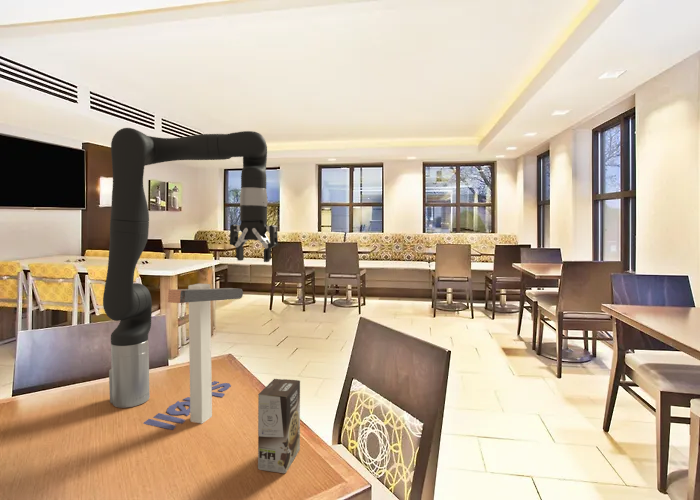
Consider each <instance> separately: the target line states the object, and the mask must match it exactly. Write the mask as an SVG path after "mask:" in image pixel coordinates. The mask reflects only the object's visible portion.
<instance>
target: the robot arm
mask: <svg viewBox="0 0 700 500" xmlns="http://www.w3.org/2000/svg"><path fill="white" fill-rule="evenodd" d="M110 151H111V153H110V154H111V166H112V188H111V189H112V192H111V209H110V218H109V219H110V222H109V249H108V263H107V271H106V278H105V282H104V283H105V284H104V288H103V289H104V290H103V297H102V306H103V307H102V308H103V310H104V313H105V314H106V316H107V317H108V318H109V319H111V320H112V321H114V322H115V321H116V322H118V321H119V323H118V325H117V327H116V328H114V330H113V331H112V332H111V334H110V350H111V351H110V354H111V368H110V369H108V370H109V371H108V379H109V380H108V382H109V384H108V385H109V403H110V404H112V406H114V407H115V408H122V409H123V408H133V407H136V406H139V405H142V404H144V403H146V402H147V401H149V400H150V397H151V396H150V354H149V353H150V352H149V350H150V349H149V333H150V331H151V327H152V310H153V309H152V308H153V306H152V305H153V304H152V303H153V301H152V295H151V293H150V292H151V291H150V290H149V289H148V287H146V286H145V285H144V284H142V283H139V282H138V283H137V282H135V281H134V280H135V278H134V277H135V271H136V267H137V264H138V262H139V260H140V257H141V256H142V254H143V252H144V250H145V248H146V246H147V245H146V244H147V243H148V239H149V228H150V214H149V213H150V211H149V205H148V202H147V199H146V197H147V196H146V195H145V191H144V190H145V189H144V173H145V166H149V165H155V164H160V163H164V162H175V161H210V160H211V161H221V160H223V161H224V160H225V161H226V160H230V159H232V158H242V163H243V164H242V170H241V172H240V173H241V174H240V179H241V180H240V195H239V220H240V224H239V225H238V224H231V225H230V233H229V245H230V246H233V247H235V258H236V259H237V261H244V257H245V256H244V253H245V252H244V249H245V248H244V245H245V244H246V243H247V242H248V241H258V242H259V243H261V245H262V246H263V247H264V249H263V262H264V263H269V262H270V261H271V259H272V249H273V248H274V247H278V246H279V240H278V237H279V236H278V226H277V225H275V224H274V225H268V223H267V221H268V193H267V172H266V171H267V159H268V146H267V141H266V139H265V137H264V136H263V135H262V134H261V133H260V132H256V131H249V130H246V131H237V132H231V133H204V134H203V133H202V134H201V133H200V134H195V135H194V134H192V135H187V136H183V137H181V136H180V137H175V138H174V137H170V138H169V137H156V136H150V135H147V134H145V133H143V132H142V131H139V130H138V129H135V128H131V127H123V128H121V129H118V130H117V132H115V133H114V135H113V137H112V139H111V143H110ZM239 232H241V233H240V235H239ZM267 232H268V233H269V237H268V236H267Z"/></svg>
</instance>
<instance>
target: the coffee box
mask: <svg viewBox="0 0 700 500" xmlns="http://www.w3.org/2000/svg"><path fill="white" fill-rule="evenodd" d="M257 397H258V400H257V401H258V406H257V407H258V411H257V414H258V415H257V419H258V421H257V424H258V425H257V427H258V428H257V431H258V432H257V434H258V436H257V443H258V444H257V445H258V446H257V469H258V470H260V471H265V472H266V471H267V472H272V473H273V472H274V473H280V474H286V473H287V472H288V471H289V468H290V467H291V465H292V463H293V462H294V460H295V459H296V457H297V455H298V453H299V451H300V450H301V380H298V379H285V378H283V379H281V378H273V379H272V380H271V381H270V382H269V383H268V384H267V385H266V386H265V387H264V388H263V389H262V390H261V391H260V392H258V396H257Z"/></svg>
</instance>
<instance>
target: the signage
mask: <svg viewBox="0 0 700 500" xmlns="http://www.w3.org/2000/svg"><path fill="white" fill-rule="evenodd" d="M217 383H218V384H217ZM212 385H213V386H212V397H215V398H216V397H217V398H218V397H219V398H223V397H224V396H225V395H226V393H223V392H225V391H227V390H229V387H230V388H231V386H232V385H231V384H230V383H228V382H224V383H223V382H222V383H220V382H219V381H215V380H213V381H212ZM220 387H221V388H220ZM214 390H217V392H216V391H214ZM186 406H187V407H189V408H186ZM177 408H178V409H179V410H176V409H177ZM167 414H168V415H167ZM189 415H190V396H187V397H185V398H182V401H179V400H177V401H176V402H175V403H174V404H171V405H169V406H168V408H167V410H166V414H164V413H161V412H158V413H156V415H154V416H153V417H152V418H154V419H151V418H148V419H146V420H145V421H144V422H142V424H144V425H148V426H152V427H155V428H156V427H157V428H161V429H164V430H165V429H166V430H169V431H174V429H176V427H177V425H174V424H171V423H167V422H163V421H168V422H173V423H176V424H181V425H182V424H184V423H185V422H186V419H185V418H181V417H178V416H186V417H188V416H189ZM175 416H176V417H175ZM155 419H157V420H155ZM159 420H160V421H159Z"/></svg>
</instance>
